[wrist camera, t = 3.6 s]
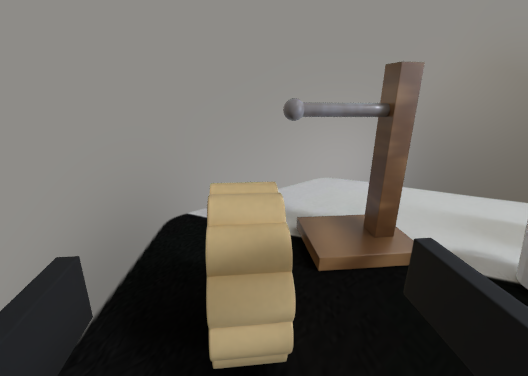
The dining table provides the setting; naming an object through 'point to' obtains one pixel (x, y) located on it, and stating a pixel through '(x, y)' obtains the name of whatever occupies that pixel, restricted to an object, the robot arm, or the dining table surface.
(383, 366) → the dining table surface
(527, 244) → the white ribbed cup
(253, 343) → the yellow scalloped ring
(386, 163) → the hook stand
